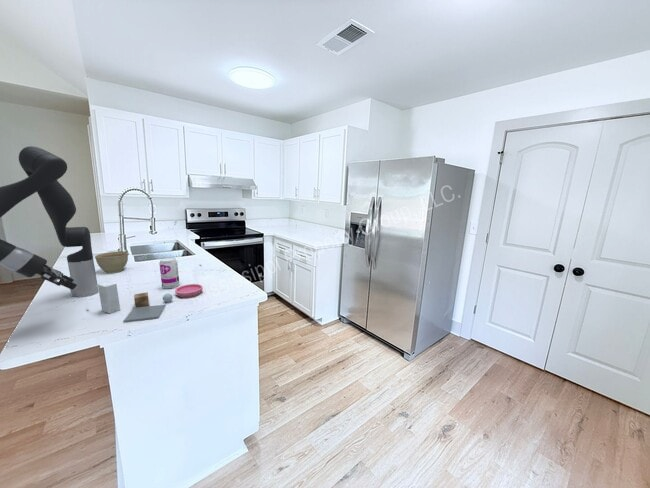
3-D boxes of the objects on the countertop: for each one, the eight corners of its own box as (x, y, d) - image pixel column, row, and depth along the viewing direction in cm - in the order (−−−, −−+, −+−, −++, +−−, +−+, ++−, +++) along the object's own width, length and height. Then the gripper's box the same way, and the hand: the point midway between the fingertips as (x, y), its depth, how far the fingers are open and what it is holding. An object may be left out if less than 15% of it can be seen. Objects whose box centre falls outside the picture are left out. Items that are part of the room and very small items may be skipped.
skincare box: (120, 309, 114) (116, 283, 111) (109, 313, 110) (105, 286, 108) (112, 306, 116) (108, 281, 114) (101, 310, 113) (97, 284, 110)
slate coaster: (123, 322, 103) (123, 320, 103) (134, 309, 114) (133, 307, 114) (158, 318, 107) (158, 316, 107) (165, 306, 118) (165, 304, 118)
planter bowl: (124, 265, 177) (122, 250, 174) (134, 270, 167) (131, 254, 165) (94, 271, 164) (91, 254, 162) (102, 276, 155) (99, 259, 152)
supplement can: (171, 289, 138) (168, 262, 134) (158, 288, 139) (155, 260, 136) (182, 284, 145) (180, 258, 142) (170, 283, 147) (167, 257, 144)
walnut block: (135, 308, 115) (134, 298, 114) (135, 304, 119) (134, 294, 118) (149, 306, 118) (147, 295, 117) (148, 302, 122) (147, 292, 121)
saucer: (201, 297, 129) (200, 291, 128) (172, 300, 125) (172, 293, 125) (204, 288, 140) (204, 282, 140) (178, 290, 137) (178, 284, 136)
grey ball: (162, 303, 120) (161, 295, 120) (164, 300, 124) (163, 292, 123) (171, 302, 122) (171, 294, 121) (173, 299, 125) (172, 291, 125)
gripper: (33, 256, 89) (84, 280, 100) (32, 250, 98) (78, 272, 109) (13, 275, 86) (67, 297, 97) (13, 266, 95) (63, 288, 106)
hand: (73, 284), depth 103 cm, fingers open, 8 cm apart
